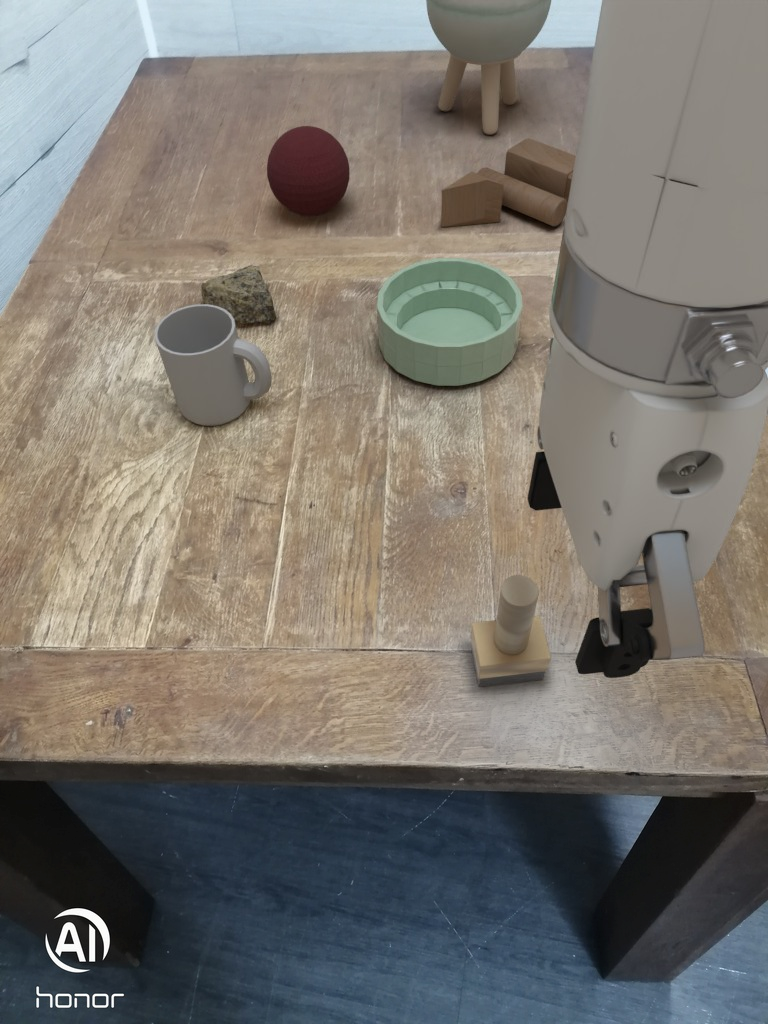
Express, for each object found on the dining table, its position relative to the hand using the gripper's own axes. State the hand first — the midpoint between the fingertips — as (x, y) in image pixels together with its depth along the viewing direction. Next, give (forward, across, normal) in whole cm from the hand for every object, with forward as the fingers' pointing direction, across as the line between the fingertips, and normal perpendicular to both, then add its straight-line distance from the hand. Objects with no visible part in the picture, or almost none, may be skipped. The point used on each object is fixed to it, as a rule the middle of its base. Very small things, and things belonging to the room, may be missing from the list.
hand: (581, 578), depth 38 cm
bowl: (+19, +42, -1) cm, 46 cm away
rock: (+20, +52, +20) cm, 59 cm away
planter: (+19, +92, -14) cm, 95 cm away
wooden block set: (+19, +63, -15) cm, 68 cm away
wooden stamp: (+19, +6, +1) cm, 20 cm away
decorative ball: (+20, +71, +12) cm, 74 cm away
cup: (+20, +37, +22) cm, 47 cm away
